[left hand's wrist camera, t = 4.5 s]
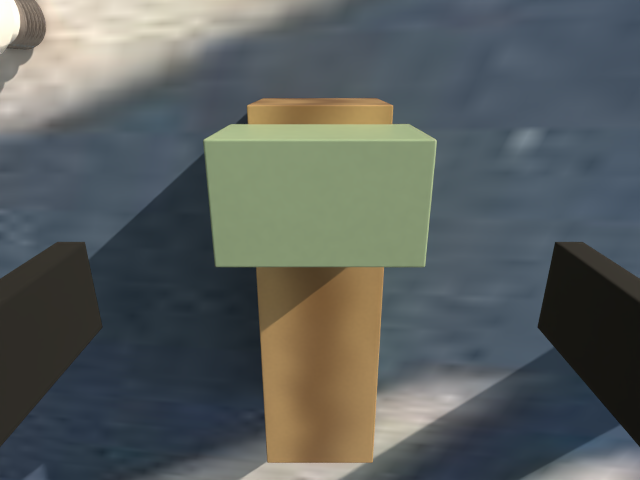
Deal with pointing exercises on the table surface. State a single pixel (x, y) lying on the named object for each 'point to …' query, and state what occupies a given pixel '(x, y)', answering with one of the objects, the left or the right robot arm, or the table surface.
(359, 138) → the sage cap block
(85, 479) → the table surface
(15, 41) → the light bulb
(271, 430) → the wooden block
